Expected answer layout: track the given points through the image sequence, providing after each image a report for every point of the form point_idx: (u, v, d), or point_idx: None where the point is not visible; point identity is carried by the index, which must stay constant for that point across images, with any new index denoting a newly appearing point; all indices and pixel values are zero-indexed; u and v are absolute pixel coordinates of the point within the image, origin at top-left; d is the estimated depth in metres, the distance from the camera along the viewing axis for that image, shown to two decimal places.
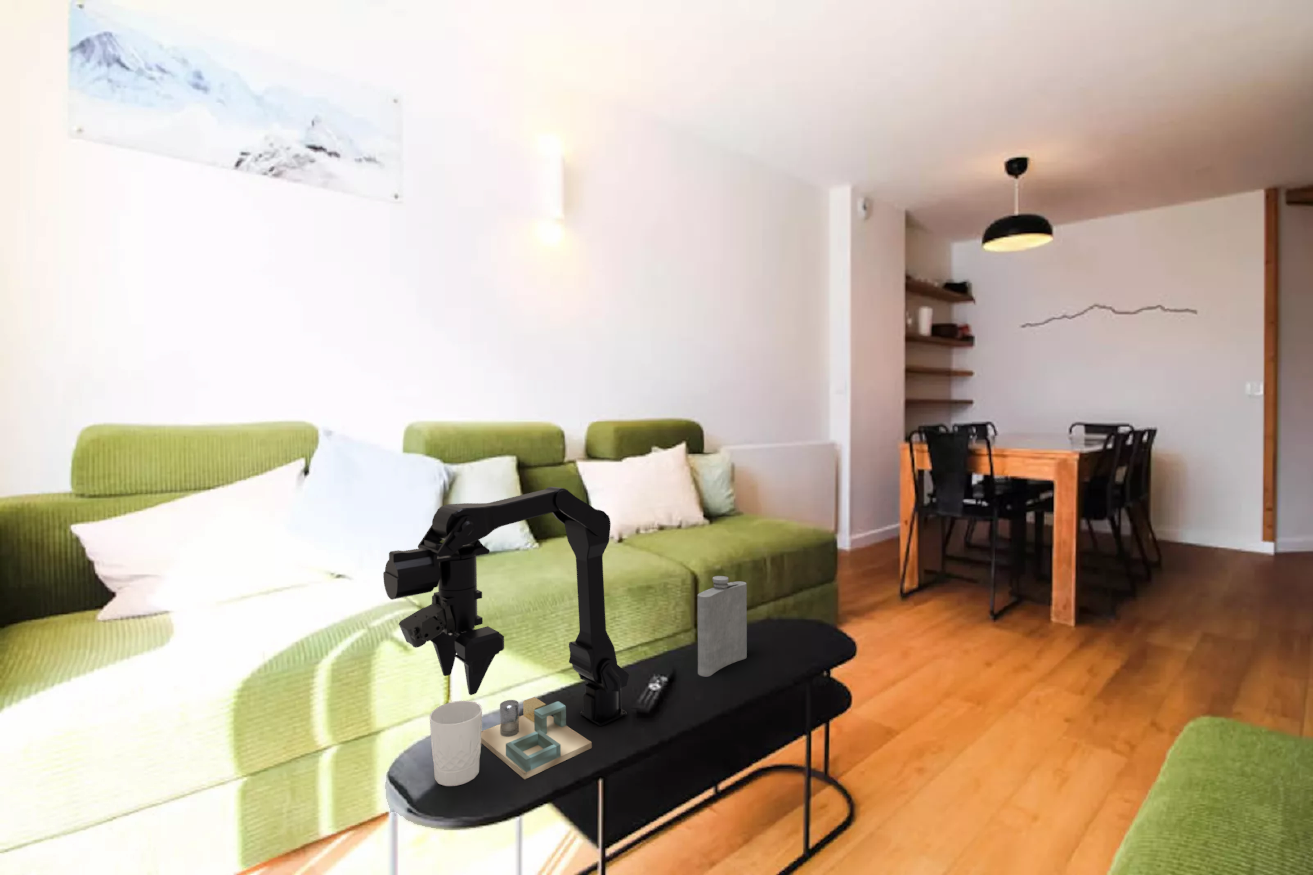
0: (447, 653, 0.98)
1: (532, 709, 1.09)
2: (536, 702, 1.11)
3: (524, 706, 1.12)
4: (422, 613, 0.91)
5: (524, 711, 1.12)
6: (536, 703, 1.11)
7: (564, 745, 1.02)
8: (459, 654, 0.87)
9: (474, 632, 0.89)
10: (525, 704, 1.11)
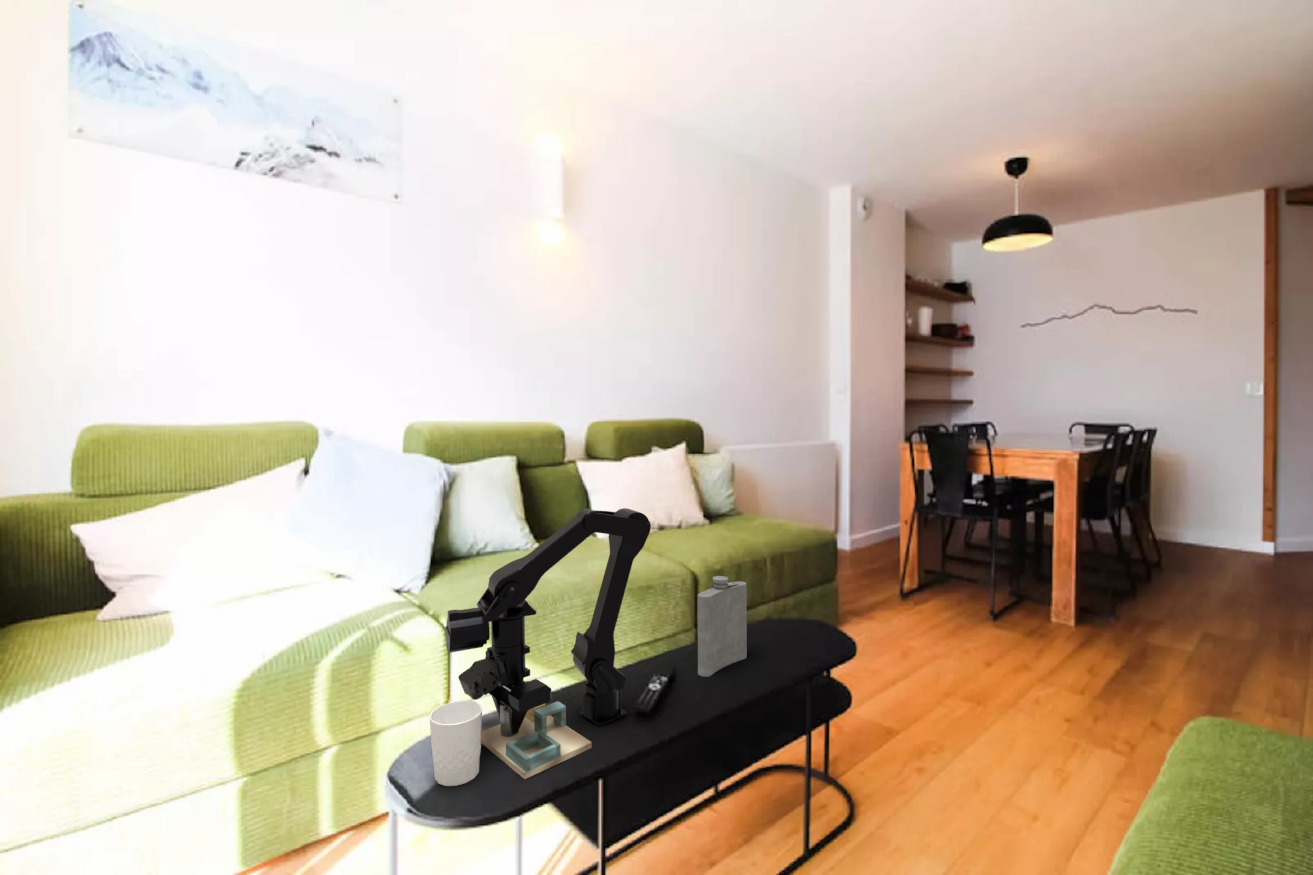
0: None
1: (532, 709, 1.09)
2: None
3: None
4: (478, 668, 1.03)
5: None
6: None
7: (564, 745, 1.02)
8: (513, 706, 0.99)
9: (525, 685, 1.01)
10: None
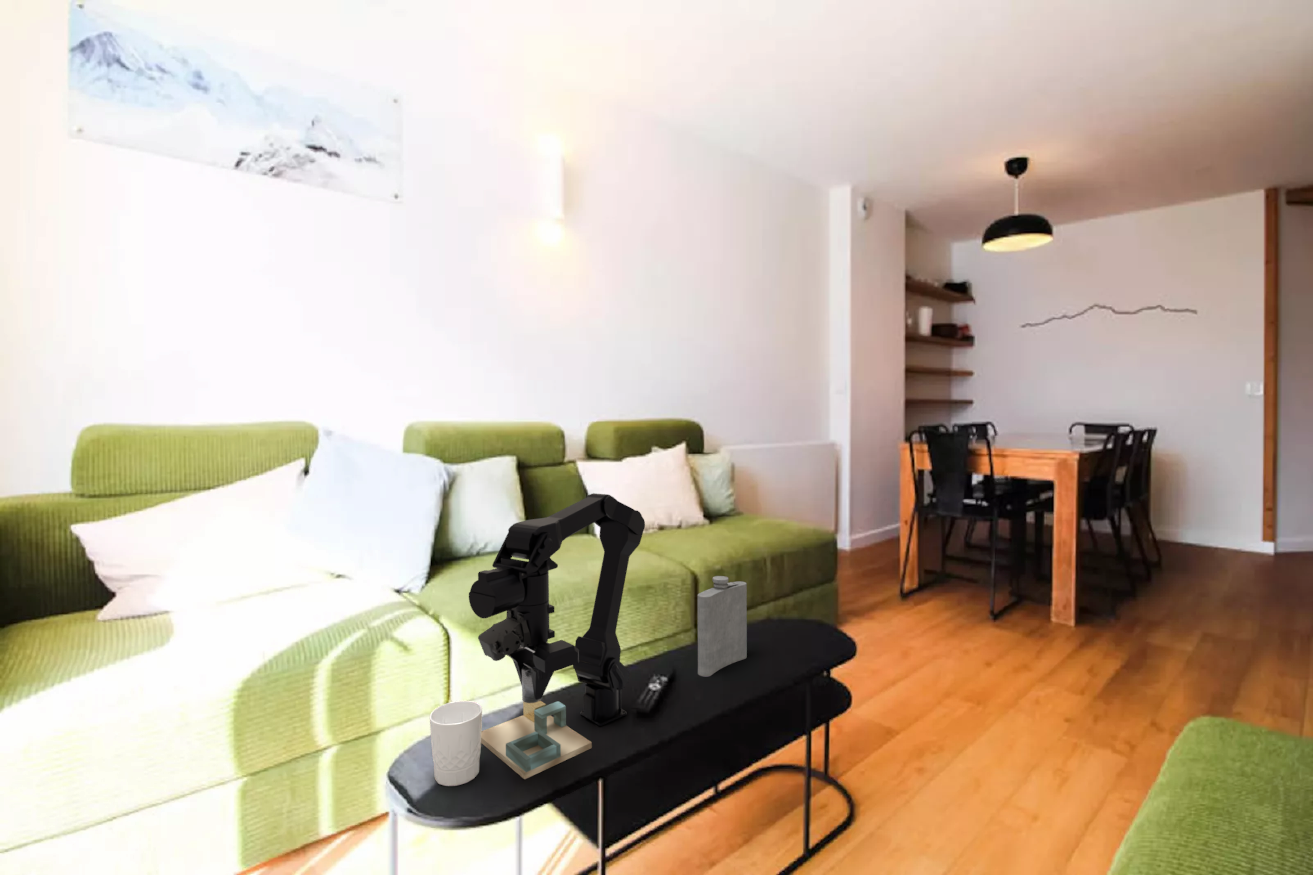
0: None
1: (532, 709, 1.09)
2: (536, 702, 1.11)
3: (524, 706, 1.12)
4: (499, 627, 0.95)
5: (524, 711, 1.12)
6: (536, 703, 1.11)
7: (564, 745, 1.02)
8: (538, 667, 0.91)
9: (551, 646, 0.93)
10: (525, 704, 1.11)
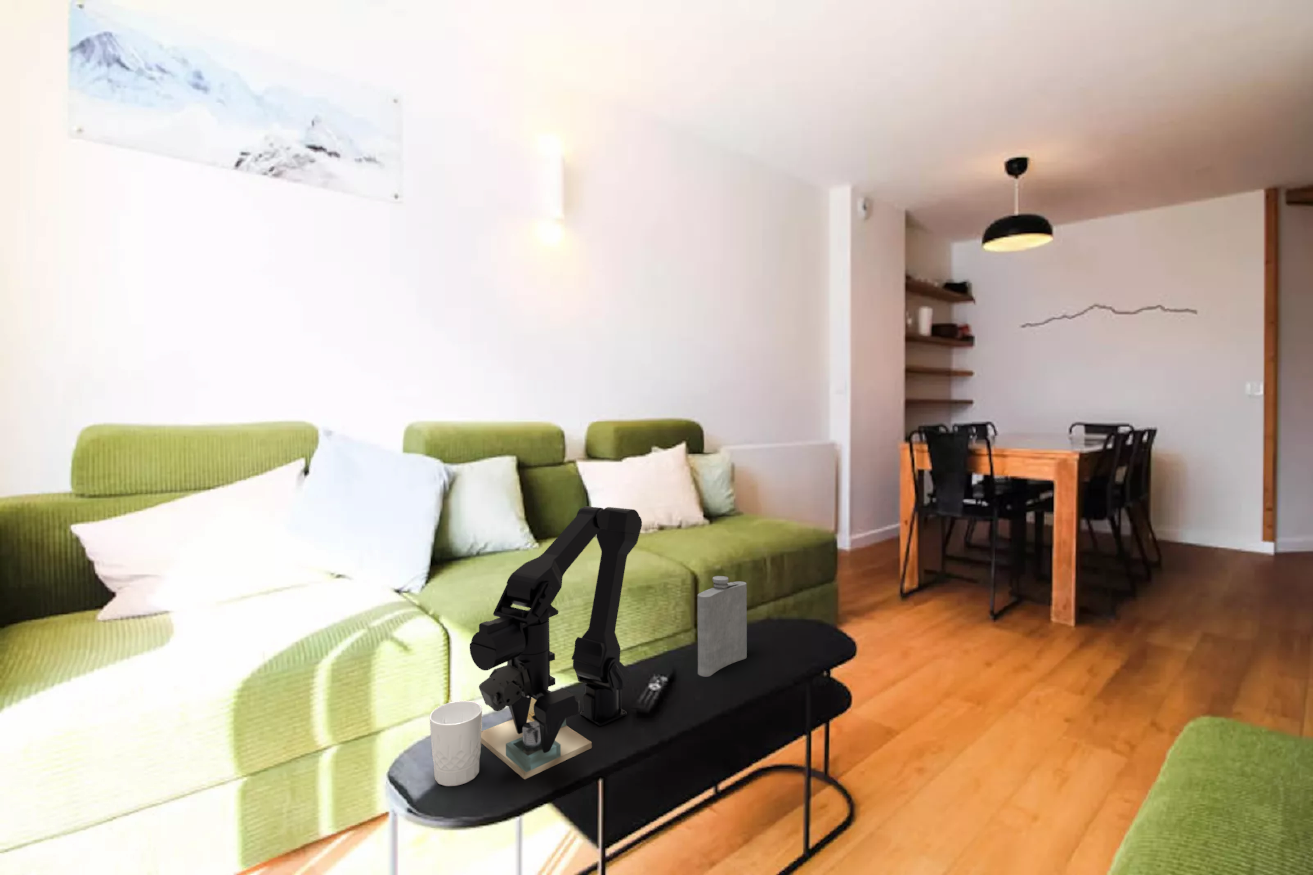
0: (521, 711, 1.01)
1: (532, 709, 1.09)
2: None
3: None
4: (500, 676, 0.95)
5: None
6: None
7: (564, 745, 1.02)
8: (539, 718, 0.91)
9: (551, 696, 0.93)
10: None
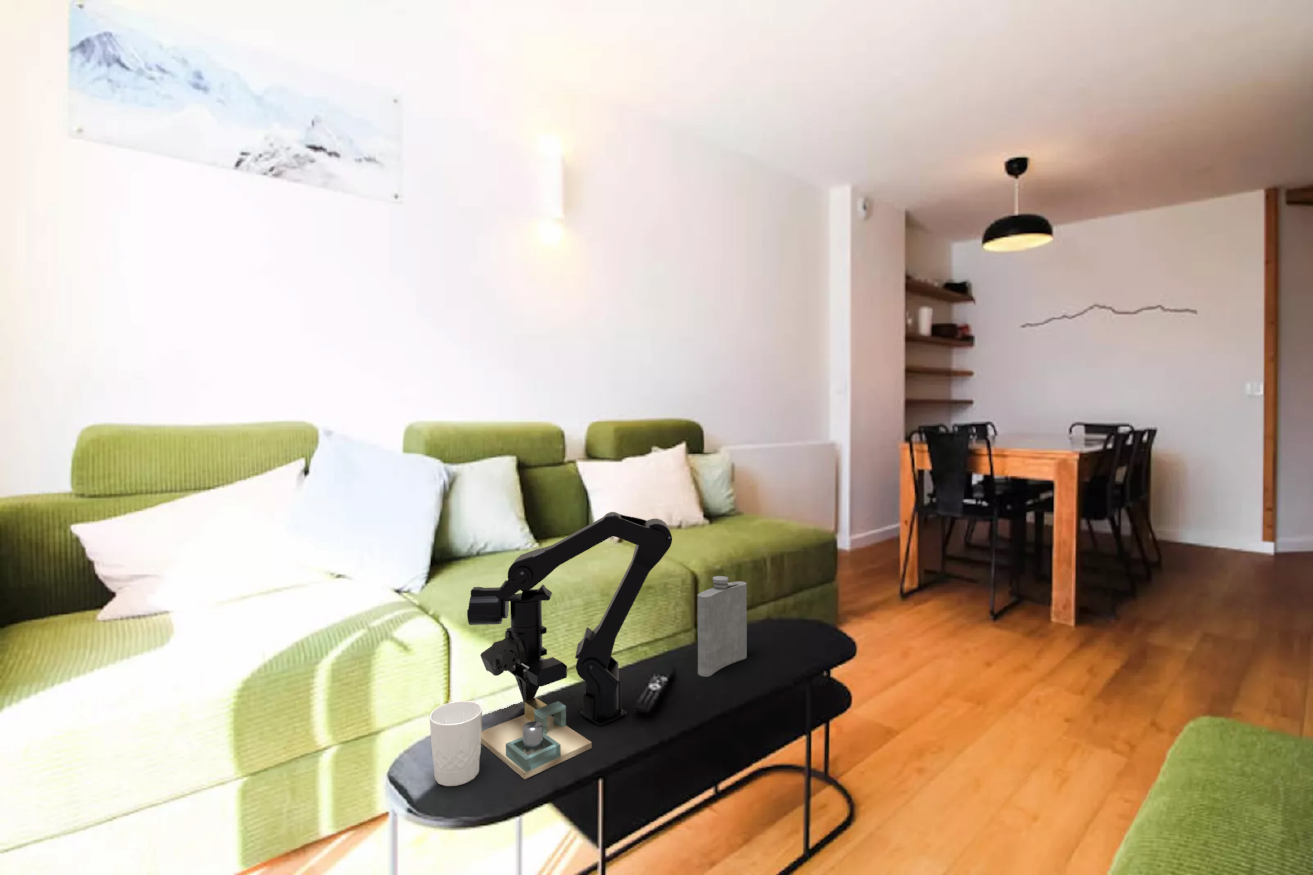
0: None
1: None
2: (538, 702, 1.11)
3: (525, 707, 1.11)
4: (499, 646, 1.10)
5: (525, 712, 1.11)
6: (537, 704, 1.11)
7: (564, 745, 1.02)
8: (532, 681, 1.06)
9: (543, 663, 1.08)
10: (526, 704, 1.11)
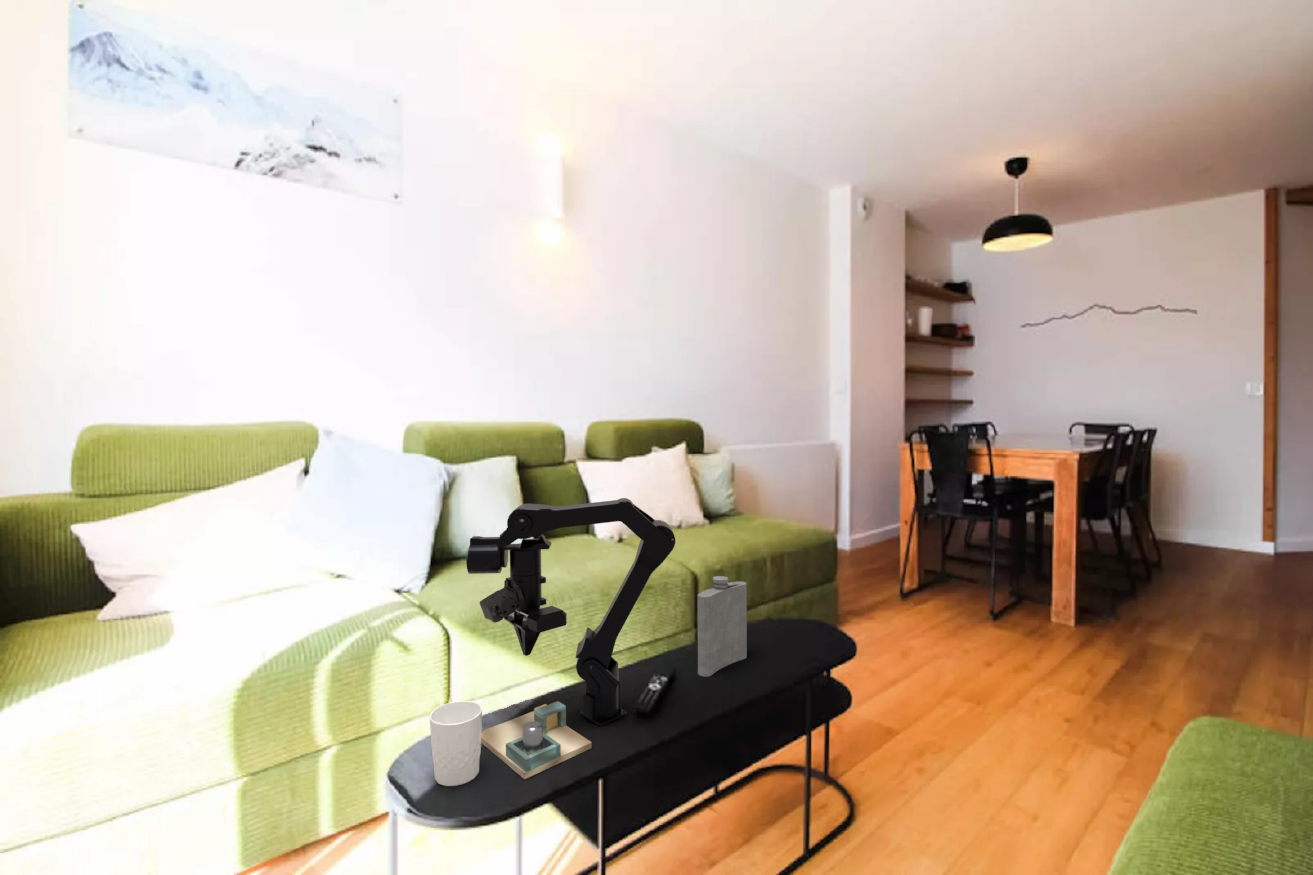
0: None
1: None
2: None
3: None
4: (498, 594, 1.09)
5: None
6: None
7: (564, 745, 1.02)
8: (531, 628, 1.05)
9: (542, 610, 1.07)
10: None
